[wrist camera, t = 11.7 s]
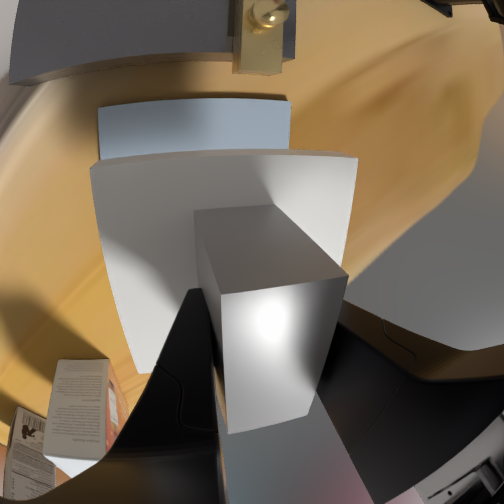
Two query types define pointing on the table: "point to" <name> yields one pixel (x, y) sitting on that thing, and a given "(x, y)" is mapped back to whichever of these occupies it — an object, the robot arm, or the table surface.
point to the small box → (83, 414)
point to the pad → (193, 126)
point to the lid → (232, 264)
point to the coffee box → (27, 458)
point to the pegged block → (258, 36)
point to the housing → (123, 35)
